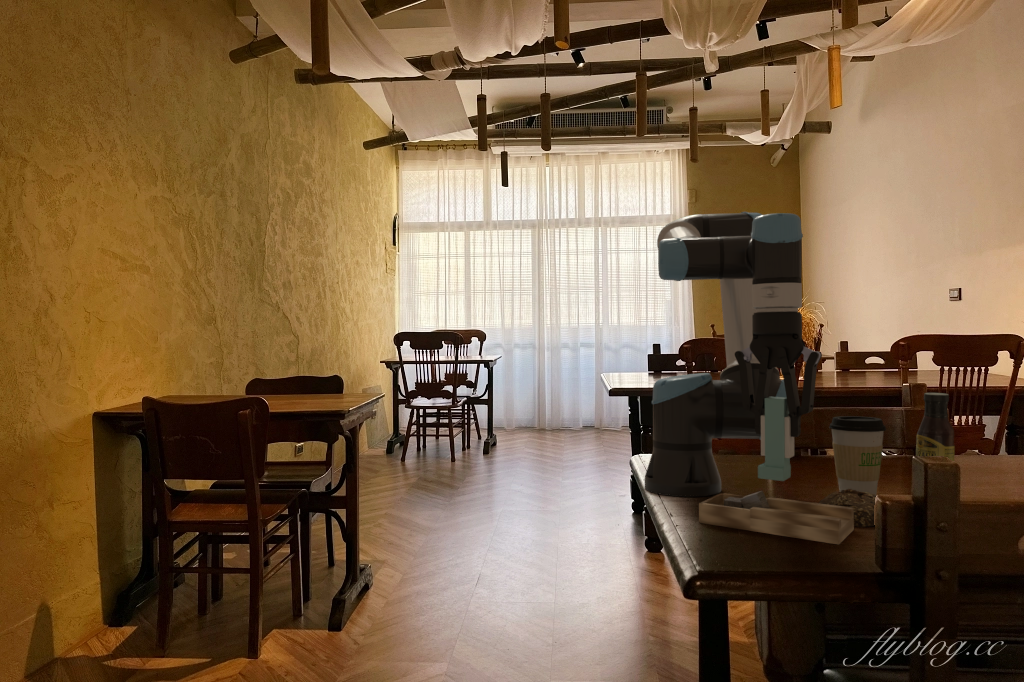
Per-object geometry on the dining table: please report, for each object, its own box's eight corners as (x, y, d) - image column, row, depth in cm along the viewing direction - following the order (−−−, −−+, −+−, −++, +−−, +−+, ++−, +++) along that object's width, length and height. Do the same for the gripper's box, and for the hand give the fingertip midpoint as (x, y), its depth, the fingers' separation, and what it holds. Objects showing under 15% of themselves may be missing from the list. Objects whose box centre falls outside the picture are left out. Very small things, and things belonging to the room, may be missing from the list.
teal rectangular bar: (790, 476, 114) (790, 397, 114) (783, 481, 111) (782, 399, 111) (765, 473, 117) (765, 396, 117) (757, 478, 114) (757, 398, 113)
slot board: (853, 529, 111) (853, 507, 111) (838, 544, 103) (838, 520, 103) (721, 510, 124) (721, 491, 124) (699, 522, 116) (698, 501, 116)
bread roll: (910, 521, 117) (909, 491, 117) (867, 532, 111) (866, 500, 111) (839, 506, 128) (839, 479, 128) (796, 515, 122) (796, 487, 122)
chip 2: (747, 516, 115) (740, 498, 115) (753, 513, 117) (746, 495, 118) (764, 511, 113) (756, 493, 114) (770, 508, 115) (762, 490, 116)
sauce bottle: (908, 494, 136) (907, 392, 136) (938, 493, 136) (937, 391, 136) (931, 502, 129) (930, 394, 129) (963, 501, 130) (962, 394, 130)
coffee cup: (894, 503, 129) (893, 421, 129) (836, 501, 131) (836, 421, 131) (877, 492, 138) (876, 416, 138) (824, 490, 140) (823, 415, 140)
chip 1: (741, 520, 115) (723, 517, 117) (747, 516, 118) (730, 514, 120) (741, 502, 115) (723, 499, 117) (747, 499, 118) (730, 496, 120)
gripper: (719, 311, 115) (720, 454, 116) (824, 309, 105) (824, 464, 106) (735, 312, 121) (736, 447, 122) (835, 309, 111) (836, 457, 112)
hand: (777, 455), depth 114 cm, fingers closed on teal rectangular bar, 3 cm apart
